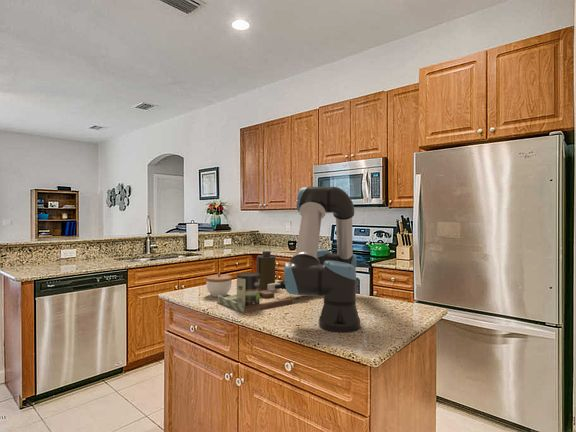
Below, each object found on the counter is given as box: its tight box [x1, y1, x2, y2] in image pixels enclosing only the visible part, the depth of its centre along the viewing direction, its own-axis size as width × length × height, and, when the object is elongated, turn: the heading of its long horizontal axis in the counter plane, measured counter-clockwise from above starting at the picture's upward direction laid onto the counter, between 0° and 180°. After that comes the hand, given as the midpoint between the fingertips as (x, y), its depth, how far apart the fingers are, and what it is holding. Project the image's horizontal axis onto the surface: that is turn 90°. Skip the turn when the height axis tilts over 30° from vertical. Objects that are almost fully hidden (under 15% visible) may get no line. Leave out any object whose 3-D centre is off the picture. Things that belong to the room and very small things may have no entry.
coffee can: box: [236, 272, 261, 306], centre depth 160 cm, size 10×10×14 cm
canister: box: [256, 250, 276, 291], centre depth 198 cm, size 11×10×20 cm
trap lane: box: [217, 290, 294, 314], centre depth 165 cm, size 22×27×3 cm
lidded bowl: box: [205, 272, 233, 298], centre depth 180 cm, size 13×13×11 cm
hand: (268, 287), depth 167 cm, fingers closed
